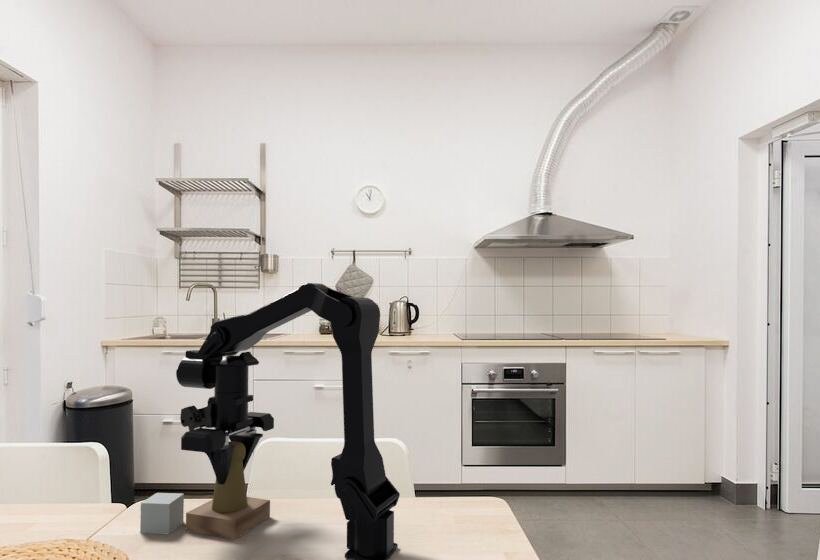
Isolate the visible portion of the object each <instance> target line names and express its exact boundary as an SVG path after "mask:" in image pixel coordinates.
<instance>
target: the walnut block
mask: <svg viewBox="0 0 820 560" xmlns="http://www.w3.org/2000/svg"><path fill="white" fill-rule="evenodd" d="M212 503H213V499H211V500H209V501H207V502H205V503H203V504H201V505H199V506H196V507H195V508H193V509H191V510H189V511H187V512H186V513H185V532H191V533H196V534H202V535H207V536H213V537H218V538H224V539H225V538H226V539H231V540H237V539H238V538H240V537H242V535H245V534H246V533H248V532H249V531H251V530H253V529H254V528H255V527H256V526H258V525H260V524H261V523H264V521H266V520H267V519H269V518H270V517H271V500H270V499H266V498H257V497H251V496H250V497H249V496H247V503H248V505H247V506H246V507H245V508H243V509H241V510H238V511H234V512H216V511H213V510H212Z"/></svg>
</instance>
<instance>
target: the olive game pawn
mask: <svg viewBox="0 0 820 560" xmlns="http://www.w3.org/2000/svg"><path fill="white" fill-rule="evenodd" d="M228 445H234V446H235V447H234V451H233V455H232V459H231V463H230V467H229V471H228V475H227V478H226V481H225V484H223V485H222V484H218V481H217V478H216V477H215V481H214V482H215V484H214V489H213V497H212V500H213V503H212V510H213V511H216V512H234V511H238V510H241V509H243V508H245V507H246V506H247V505H248V503H247V497H248V495H247V488H246V480H245V479H246V478H245V470H243V462H242V461H243V459H244V458H245V454H246V448H245V446H244V444H243V443H241V442H236V441H230V440H229V444H228Z"/></svg>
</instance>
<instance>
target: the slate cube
mask: <svg viewBox="0 0 820 560" xmlns="http://www.w3.org/2000/svg"><path fill="white" fill-rule="evenodd" d="M184 500H185V494H184V493H171V492H156V493H154V494H152V495H151V496H150V497H148V498H147V499H145V500H143V501H141V503H140V524H139V525H140V531H139V533H141V534H162V535H163V534H164V535H165V534H166V535H167V534H168V535H169V534H171V533H173V531H174V530H175V529H177V528H178V527H179V526H180V525H182V524H183V523H184V513H185V512H184V507H185V505H184V503H185V502H184Z"/></svg>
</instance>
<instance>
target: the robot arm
mask: <svg viewBox="0 0 820 560" xmlns="http://www.w3.org/2000/svg"><path fill="white" fill-rule="evenodd" d="M309 312H313V313H314V314H316V316H318V317H320V318H321V319H323V320H325V321H327V322H329V323H330V327H331V333H332V338H333V340H334V341H335V342H334V343H336V346H337V348H338V350H339V352H340V354H341V374H342V378H341V379H342V409H343V410H342V414H343V437H344V439H343V448H342V450H341V453H339V454H337V455H335V456H333V457H331V461H330V465H331V466H330V467H331V470H332V476H331V477H332V478H331V482H330V485H331V486H334V493H335V495H336V498H337V499H339V500H340V505H341V508H342V510H343V511H342V512H343V514H344V517H345V520H347V522H346V548H347V551H346V552H345V553H344V558H345V559H349V560H389V558H390V557H391V556H392V554H393V553H394V552H395V551H396V550H397V549H398V546H399V544H398V543H397V542H394V541H395V511H394V510H391V509H392V508H394V507H396V506H397V505H398V502H399V499H400V496H401V494H400V492H399V491H398V490H397V488H396V487H395V485H394V484H393V483H392V482H391V481H390V480H389V478H388V477H387V476H386V474H387V473H386V468H385V464H384V459H383V456H382V454H381V452H380V450H379V448H378V446H377V444H376V441H375V425H374V424H375V422H374V421H375V420H374V419H375V418H374V395H373V394H374V392H373V386H374V385H373V364H372V363H373V360H372V356H373V355H372V353H373V348H374V346H375V344H376V340H377V338H378V335H379V330H380V322H381V321H380V320H381V309H380V307H379V305H378V304H377V303H376V302H375V301H374V300H373V299H371V298H369V297H360V296H359V297H355V296H352V295H351V294H347V293H344V292H342V291H338V290H335V289H333V288H330V287H328V286H327V285H326V284H324V283H316V282H305V283H303V284H302V285H300V286H299V288H297V289H295V290H293V291H291V292H289V293H287V294H285V295H283V296H281V297H279V298H277V299H275V300H273V301H271V302H270V303H268V304H265V305H263V306H261V307H259V308H257V309H255V310H253V311H251V312H249V313H245V314H241V315H235V316H231V317H230V316H229V317H227V318H224V319H219V320H217V321H215V322H214V323H212V325H211V326H210V331H209V334H208V335H207V336H206V338H205V340H204V342H203V343H202V345H200V346H201V347H200V348H199V349H193V350H192V349H191V350H186V351H185V357H183V359H182V360H180V363H179V364H178V366H177V369H176V371H175V376H176V380H177V382H178V384H179V385H180V386H181V387H184V388H192V389H194V388H195V389H208V390H211V389H214V390H213V391H214V396H211V397H208V400H207V406H204V407H201V408H197V407H196V406H195V405H190V406H186V407H183V408H181V410H180V417H179V419H180V424H181V425H182V427H183V428H186V427H188V431H186V432H184V434H183V435H181V436H180V450H182V451H189V452H190V451H191V452H198V453H199V452H200V453H204V454H205V455H206V456H207V457H208V459H209V461H210V464H211V466H212V470H213V472H214V475H215V479H216V478H217V481H218V484H222V485H223V484H225V481H226V478H227V475H228V471H229V467H230V463H231V459H232V455H233V451H234V447H235V446H234V445H228V444H229V442H230V441H236V442H241V443H243V444H244V446H245V448H246V454H245V458H244V459H243V461H242V462H243V470H244V471H245V469H246V467H247V465H248V463H249V461H250V459H251V457H252V455H253V452H254V451H255V449H256V447H257V445H258V443H259V442H260V439H261V438H264V437H263V436H264V434H263V433H258V431H257V429H256V428H261V430H262V431H263V432H267V431H270V430H274V429H275V418H274V417H273V415H272V414H271V413H270V412H269V413H268V412H257V411H249V402H250V403H251V402H253V401H254V394H253V395H252V394H249V367H251V366H257V365H260V361H259V360H258V359H257V357H255V356H254V355H253V354H252V353H251V351H248V350H249V349H251V348H253V347H254V346H255V345H257V344H258V343H259V342H260V341H261V340H262V339H263V337H264V336H265V335H266V334H268V332H270V331H272V330H275V329H276V328H279V327H280V326H282V325H284V324H287V323H289V322H290V321H293V320H295V319H297V318H299V317H301V316H303V315H305V314H307V313H309ZM238 354H239V355H238Z"/></svg>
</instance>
